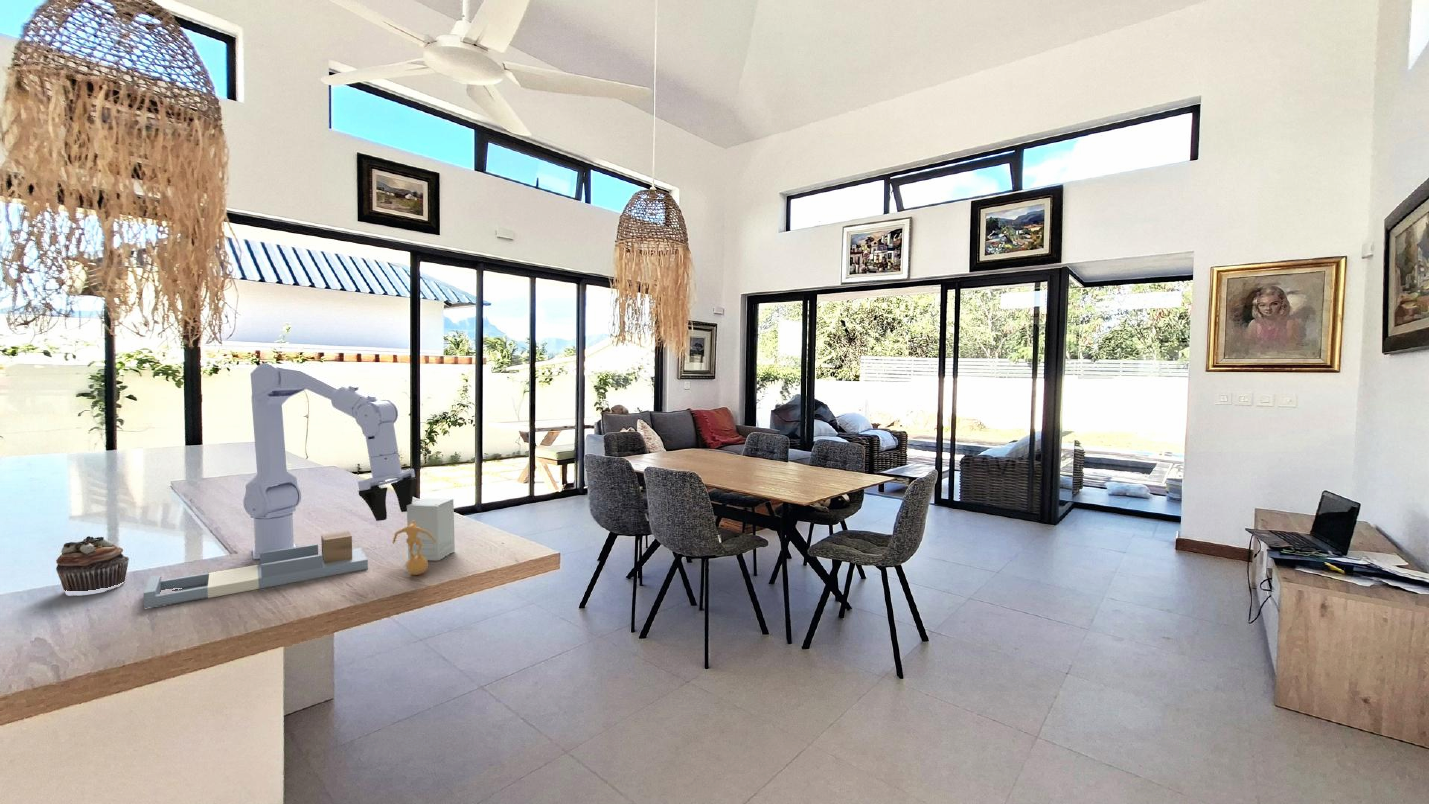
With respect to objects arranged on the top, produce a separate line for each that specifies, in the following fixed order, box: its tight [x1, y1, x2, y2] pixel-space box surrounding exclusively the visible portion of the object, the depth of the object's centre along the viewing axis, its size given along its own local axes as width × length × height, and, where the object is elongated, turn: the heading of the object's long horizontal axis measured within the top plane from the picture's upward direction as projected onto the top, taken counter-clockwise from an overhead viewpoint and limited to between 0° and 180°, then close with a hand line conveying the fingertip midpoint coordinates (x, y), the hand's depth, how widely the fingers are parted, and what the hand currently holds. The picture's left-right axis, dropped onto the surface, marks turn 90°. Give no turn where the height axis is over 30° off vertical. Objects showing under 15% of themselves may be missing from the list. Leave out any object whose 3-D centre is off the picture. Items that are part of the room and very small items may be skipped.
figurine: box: [392, 520, 436, 576], centre depth 121 cm, size 8×6×12 cm
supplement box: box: [406, 497, 456, 562], centre depth 134 cm, size 7×7×13 cm
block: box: [320, 530, 353, 563], centre depth 125 cm, size 5×5×5 cm
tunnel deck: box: [143, 543, 369, 608], centre depth 118 cm, size 10×34×4 cm, turn 129°
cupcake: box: [55, 535, 130, 591], centre depth 112 cm, size 10×10×10 cm
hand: (394, 515), depth 128 cm, fingers open, 7 cm apart
